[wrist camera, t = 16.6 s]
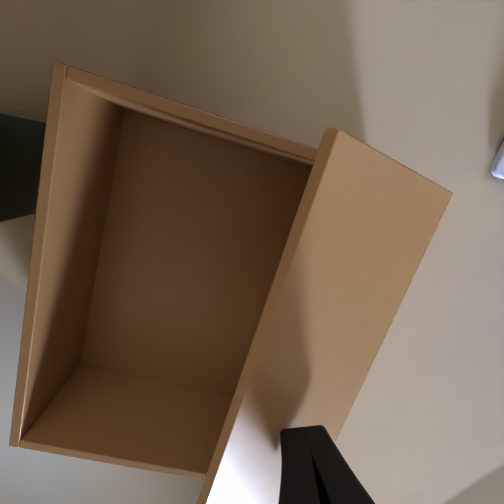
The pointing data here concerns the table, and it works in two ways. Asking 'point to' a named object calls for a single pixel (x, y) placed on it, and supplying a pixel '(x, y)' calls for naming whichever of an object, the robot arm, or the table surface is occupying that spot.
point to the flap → (324, 310)
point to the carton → (146, 273)
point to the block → (19, 163)
